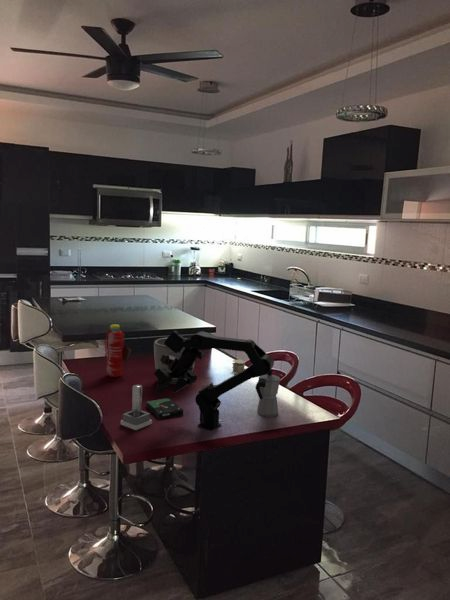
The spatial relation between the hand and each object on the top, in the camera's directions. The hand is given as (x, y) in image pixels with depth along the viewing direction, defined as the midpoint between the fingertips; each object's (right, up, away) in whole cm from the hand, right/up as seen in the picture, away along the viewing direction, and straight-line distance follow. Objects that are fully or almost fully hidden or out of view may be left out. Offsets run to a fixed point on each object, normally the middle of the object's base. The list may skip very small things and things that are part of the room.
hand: (165, 392), depth 192 cm
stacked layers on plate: (+30, -2, +67) cm, 73 cm away
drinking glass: (-10, -9, -5) cm, 15 cm away
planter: (-1, -3, +47) cm, 47 cm away
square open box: (-10, -11, -5) cm, 15 cm away
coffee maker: (+39, -10, +11) cm, 42 cm away
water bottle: (-29, -1, +53) cm, 60 cm away
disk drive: (-2, -10, +10) cm, 14 cm away
